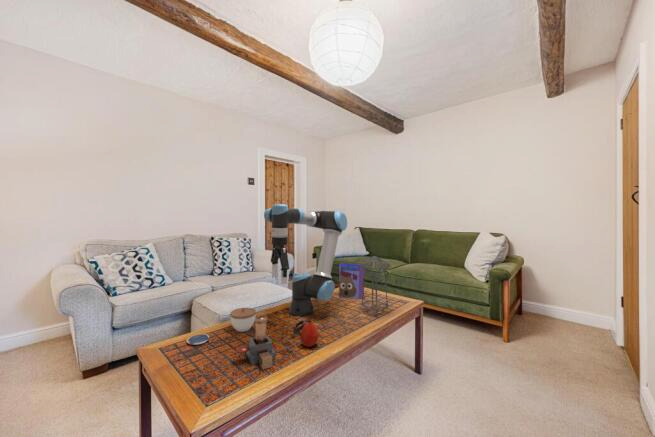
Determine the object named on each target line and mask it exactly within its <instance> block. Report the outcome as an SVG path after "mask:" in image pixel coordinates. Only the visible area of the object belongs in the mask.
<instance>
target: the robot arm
mask: <svg viewBox="0 0 655 437" xmlns="http://www.w3.org/2000/svg"><path fill="white" fill-rule="evenodd" d="M263 218H264V220H265V221H266V222H268V223H271V229H270V232H271V236H272V237H271V244H272V252H271V256H270V263H271V271H272V272H271V277H272V278H278V277H279V275H278V274H279V271H278V270H279V263H280V267H281V268H280V284H281V285H287V284H288V270H290V263H289V258H288V249H287V247H285V246H287V245H288V238H289V237H288V236H289V226H288V225H289V224H293V225H305V226H307V227H309V228H310V227H311V228H316V229H321V230H322V231H323V233H324V236H323V240H322V245H321V250H320V254H319V258H318V264H317V268H316V271H315V272H314V273H313V274H312V273H309V272H307V273H306V272H305V273H298V274H295V275H293V276H292V282H291V286H292V287H291V289H292V290H291V292H292V294H291V302H290V304H289V307H288V312H289V314H290V315H292V316H297V317H304V316H305V317H306V316H310V315H312V314H314V311H315V310H314V309H315V307H314V305H313V304H314V303H313V300H312V299H316V300H318V301H328V300H330V299H331V298H332V297H333V295H334V293H335V289H336V286H335V282H334V281H333V277H332V270H333V265H334V259H335V254H336V250H337V246H338V239H339V236H341V235H342V234H343V233H342V232H343V231H346V229H347V226H348V218H347V215H346V214H345V213H344V212H343V211H338V210H335V211H333V210H332V211H331V210H329V211H328V210H320V211H319V210H317V211H307V212H305V211H304V210H303V209H301V208H289V205H288V204H278V203H277V204H273V205H272V207H270V208H267V209H265V211H264V213H263Z"/></svg>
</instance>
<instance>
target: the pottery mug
mask: <svg viewBox="0 0 655 437" xmlns="http://www.w3.org/2000/svg"><path fill="white" fill-rule="evenodd" d="M308 322H310V323H313V322H312V319H307V320H304V319H302V320H300V321H298V322H296V324H295V325H293V327H292V330H293V334H294V335H301V334H300V332H302V329H303V327H304V325H305V324H306V323H308Z"/></svg>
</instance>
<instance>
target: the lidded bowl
mask: <svg viewBox="0 0 655 437" xmlns="http://www.w3.org/2000/svg"><path fill="white" fill-rule="evenodd" d="M256 313H257V312H256V309H254V308H252V307H239V308H235V309H233V310H231V311H230V314H229V315H230V323H231V326H232V328H233V329H235V331H237V332H239V333H243V332H244V333H245V332H248V331H249V330H251V328H252V327H253V325H255V317H256Z"/></svg>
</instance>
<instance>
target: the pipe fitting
mask: <svg viewBox="0 0 655 437" xmlns="http://www.w3.org/2000/svg"><path fill="white" fill-rule="evenodd" d="M267 322H268V316H267V315H265V314H260V315H255V321H254V323H255V337H256V345H257V344H262V343H266V335H267Z"/></svg>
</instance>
